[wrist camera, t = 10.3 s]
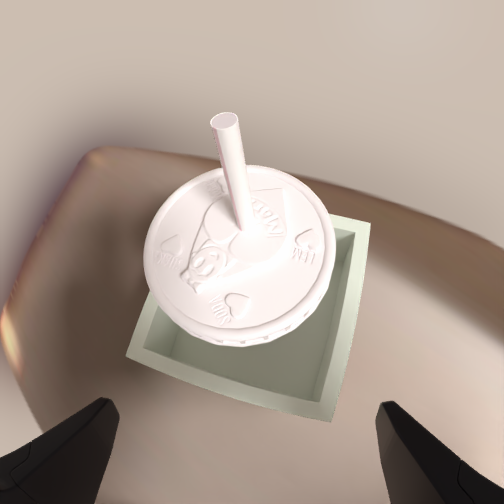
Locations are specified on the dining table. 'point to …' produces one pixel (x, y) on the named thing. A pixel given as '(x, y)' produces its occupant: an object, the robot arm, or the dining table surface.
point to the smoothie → (239, 249)
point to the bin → (271, 344)
